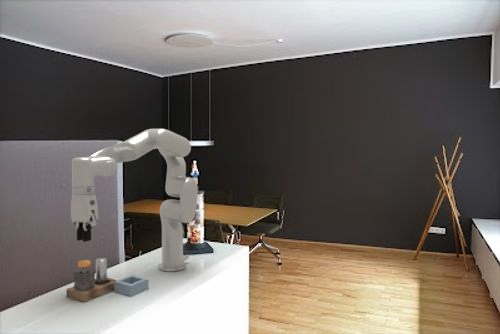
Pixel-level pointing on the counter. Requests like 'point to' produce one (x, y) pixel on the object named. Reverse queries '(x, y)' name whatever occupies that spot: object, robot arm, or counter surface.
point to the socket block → (88, 287)
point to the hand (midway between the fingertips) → (84, 239)
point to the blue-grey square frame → (131, 285)
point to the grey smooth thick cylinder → (101, 271)
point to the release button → (84, 265)
